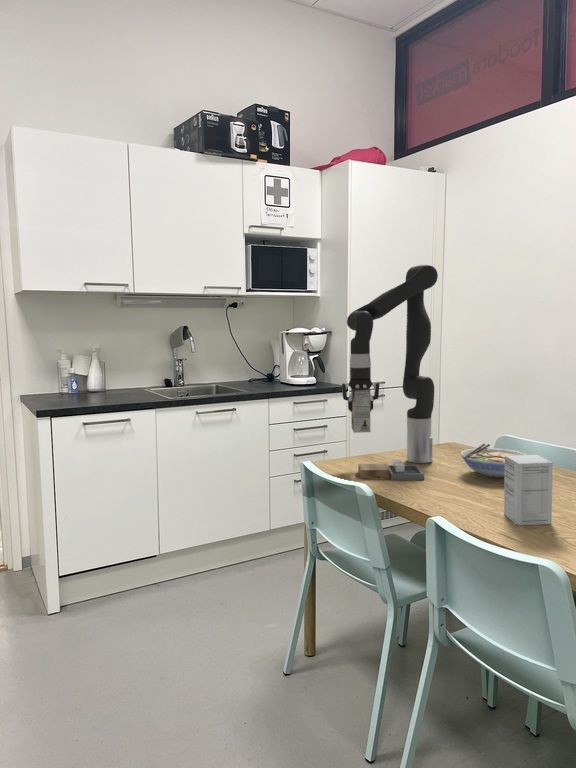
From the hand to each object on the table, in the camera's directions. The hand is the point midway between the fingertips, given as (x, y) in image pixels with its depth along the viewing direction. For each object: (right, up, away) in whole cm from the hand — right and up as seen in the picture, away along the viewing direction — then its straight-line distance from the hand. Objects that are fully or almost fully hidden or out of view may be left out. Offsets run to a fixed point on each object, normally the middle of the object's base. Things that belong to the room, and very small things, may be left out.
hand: (360, 410), depth 211 cm
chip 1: (+11, -20, -7) cm, 23 cm away
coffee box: (0, -7, +1) cm, 7 cm away
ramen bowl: (+45, -22, -11) cm, 52 cm away
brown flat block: (+4, -22, -8) cm, 24 cm away
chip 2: (+11, -20, -11) cm, 25 cm away
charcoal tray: (+14, -22, -9) cm, 28 cm away
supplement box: (+38, -27, -56) cm, 73 cm away
